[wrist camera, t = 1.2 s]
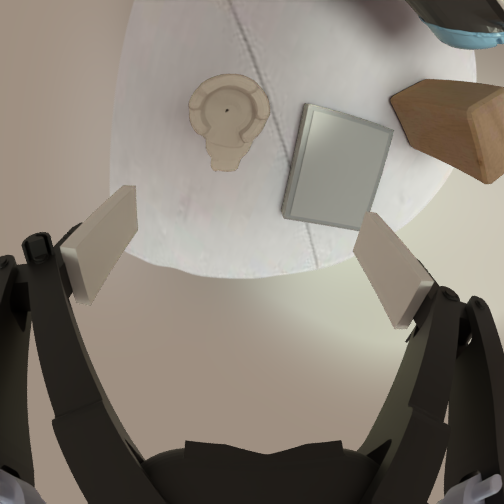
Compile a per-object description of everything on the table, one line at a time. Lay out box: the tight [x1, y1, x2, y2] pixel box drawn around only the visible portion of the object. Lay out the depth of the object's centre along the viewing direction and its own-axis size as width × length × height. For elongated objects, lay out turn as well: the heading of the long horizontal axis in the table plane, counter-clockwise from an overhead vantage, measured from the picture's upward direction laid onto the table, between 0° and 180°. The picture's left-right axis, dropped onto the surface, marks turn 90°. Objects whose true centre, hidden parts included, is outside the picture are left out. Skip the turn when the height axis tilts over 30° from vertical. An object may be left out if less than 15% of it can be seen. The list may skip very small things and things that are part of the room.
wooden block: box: [390, 79, 504, 184], centre depth 27 cm, size 10×10×20 cm
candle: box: [189, 74, 270, 172], centre depth 30 cm, size 7×14×20 cm, turn 169°
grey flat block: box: [281, 104, 394, 231], centre depth 40 cm, size 18×14×3 cm
